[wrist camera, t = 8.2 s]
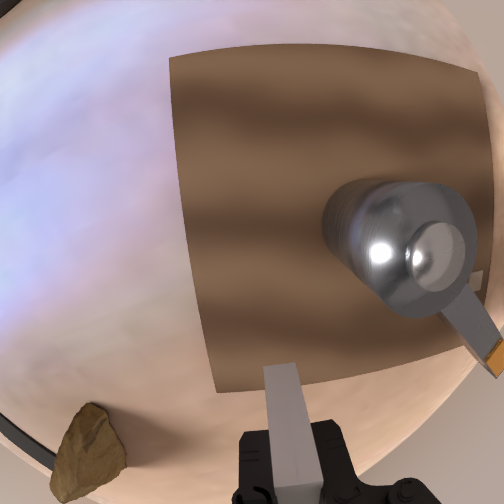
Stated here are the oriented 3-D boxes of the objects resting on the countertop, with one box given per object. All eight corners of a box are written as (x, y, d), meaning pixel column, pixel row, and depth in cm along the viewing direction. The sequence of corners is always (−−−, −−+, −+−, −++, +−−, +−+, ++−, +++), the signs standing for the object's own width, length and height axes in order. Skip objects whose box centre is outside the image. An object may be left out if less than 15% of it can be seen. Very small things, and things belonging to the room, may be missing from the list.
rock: (55, 390, 19) (34, 436, 19) (78, 476, 13) (53, 504, 13) (147, 405, 27) (112, 445, 27) (182, 471, 21) (138, 502, 21)
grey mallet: (303, 230, 16) (348, 274, 8) (357, 161, 15) (438, 151, 7) (450, 360, 18) (499, 414, 11) (486, 313, 17) (545, 355, 10)
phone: (-7, 409, 23) (75, 469, 25) (-4, 406, 24) (77, 465, 26) (-1, 431, 25) (73, 483, 26) (1, 428, 26) (75, 480, 27)
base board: (176, 69, 15) (168, 57, 13) (462, 77, 15) (478, 72, 13) (219, 376, 21) (216, 393, 19) (464, 330, 20) (476, 340, 18)
